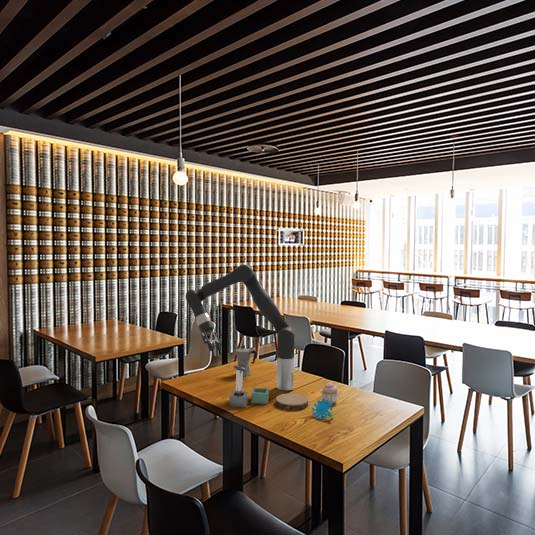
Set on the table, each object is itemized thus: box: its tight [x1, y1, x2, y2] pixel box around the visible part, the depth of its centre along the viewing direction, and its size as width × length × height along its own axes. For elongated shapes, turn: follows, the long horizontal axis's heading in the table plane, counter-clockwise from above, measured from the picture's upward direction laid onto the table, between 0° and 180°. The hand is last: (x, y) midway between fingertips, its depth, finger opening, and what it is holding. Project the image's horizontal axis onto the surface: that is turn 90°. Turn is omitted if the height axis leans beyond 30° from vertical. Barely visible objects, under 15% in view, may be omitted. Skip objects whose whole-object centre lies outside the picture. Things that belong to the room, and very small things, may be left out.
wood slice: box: [275, 393, 309, 411], centre depth 203 cm, size 16×16×3 cm
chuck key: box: [233, 365, 246, 396], centre depth 201 cm, size 8×3×18 cm, turn 46°
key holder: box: [251, 387, 270, 405], centre depth 207 cm, size 8×8×5 cm
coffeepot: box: [233, 344, 258, 378], centre depth 251 cm, size 15×9×18 cm, turn 70°
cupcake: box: [320, 381, 340, 404], centre depth 208 cm, size 9×9×10 cm
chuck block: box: [228, 390, 249, 408], centre depth 201 cm, size 8×8×5 cm
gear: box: [311, 398, 334, 420], centre depth 188 cm, size 11×6×10 cm
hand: (216, 350), depth 219 cm, fingers open, 8 cm apart
